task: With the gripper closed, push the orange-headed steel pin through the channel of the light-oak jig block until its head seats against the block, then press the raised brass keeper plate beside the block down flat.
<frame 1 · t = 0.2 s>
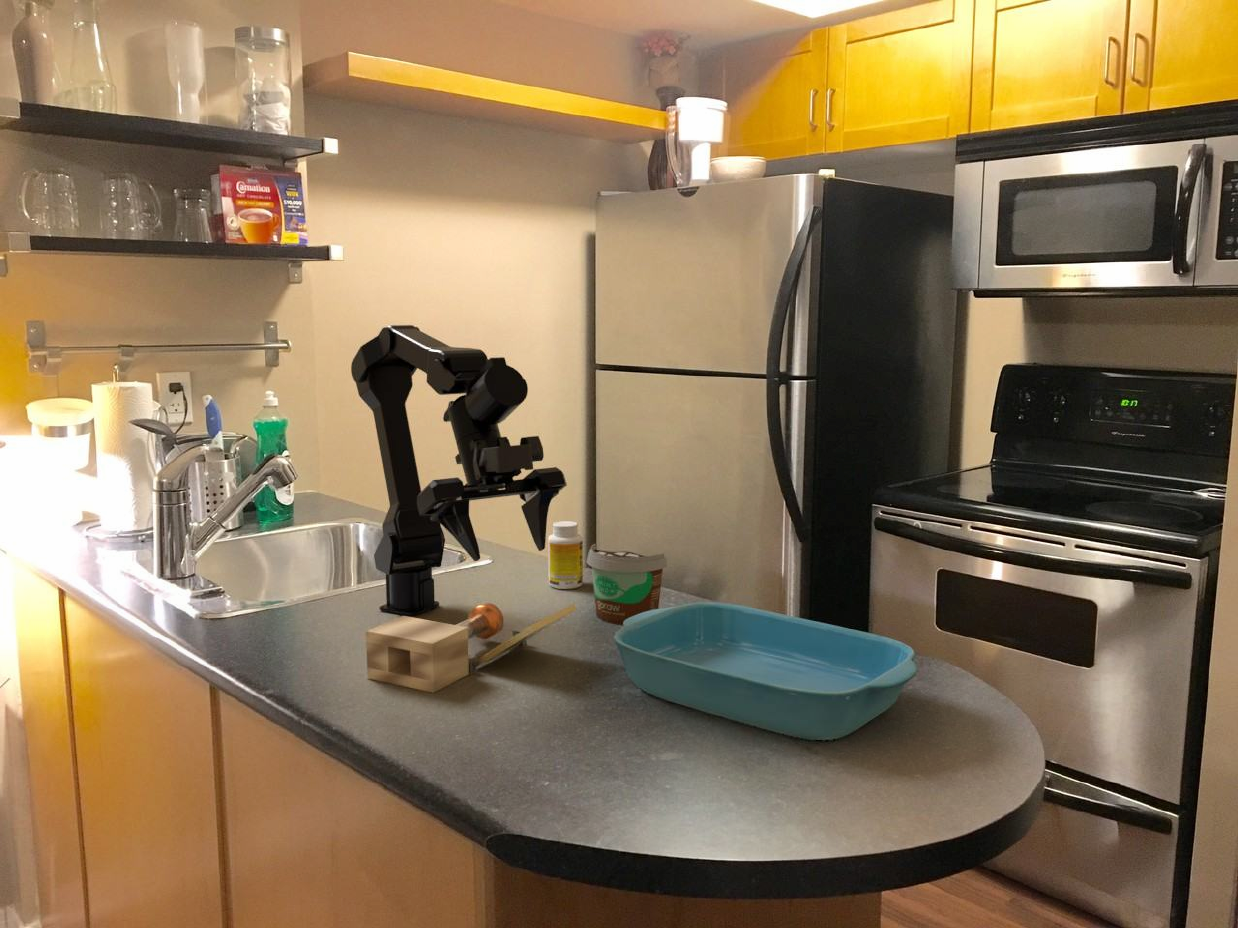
hand: (510, 554, 131), 14 cm above the worktop, tool tilted 30°, fingers open, 9 cm apart
keeper bracket: (495, 657, 136), on the worktop
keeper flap: (524, 635, 133), point 4 cm above the worktop, hinge at 35.0°
hitch pin: (461, 632, 137), point 3 cm above the worktop, slide at 0.0 cm
supplement bottle: (565, 586, 170), on the worktop
jig block: (418, 676, 129), on the worktop
food container: (618, 621, 152), on the worktop
casserole dish: (758, 698, 124), on the worktop
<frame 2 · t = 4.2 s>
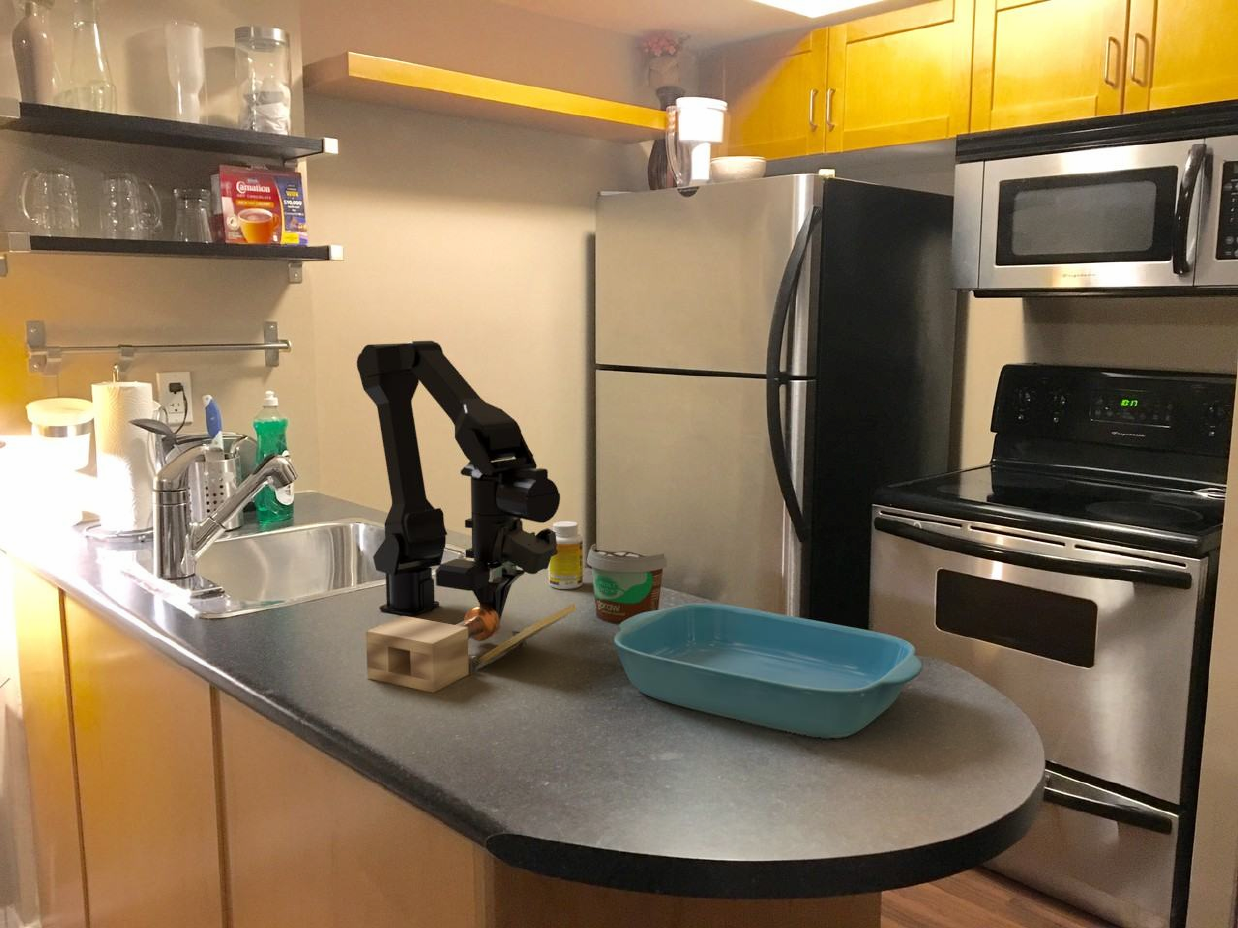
hand: (494, 623, 143), 2 cm above the worktop, tool pointing down, fingers closed
hitch pin: (457, 634, 136), point 3 cm above the worktop, slide at 0.9 cm, touching gripper
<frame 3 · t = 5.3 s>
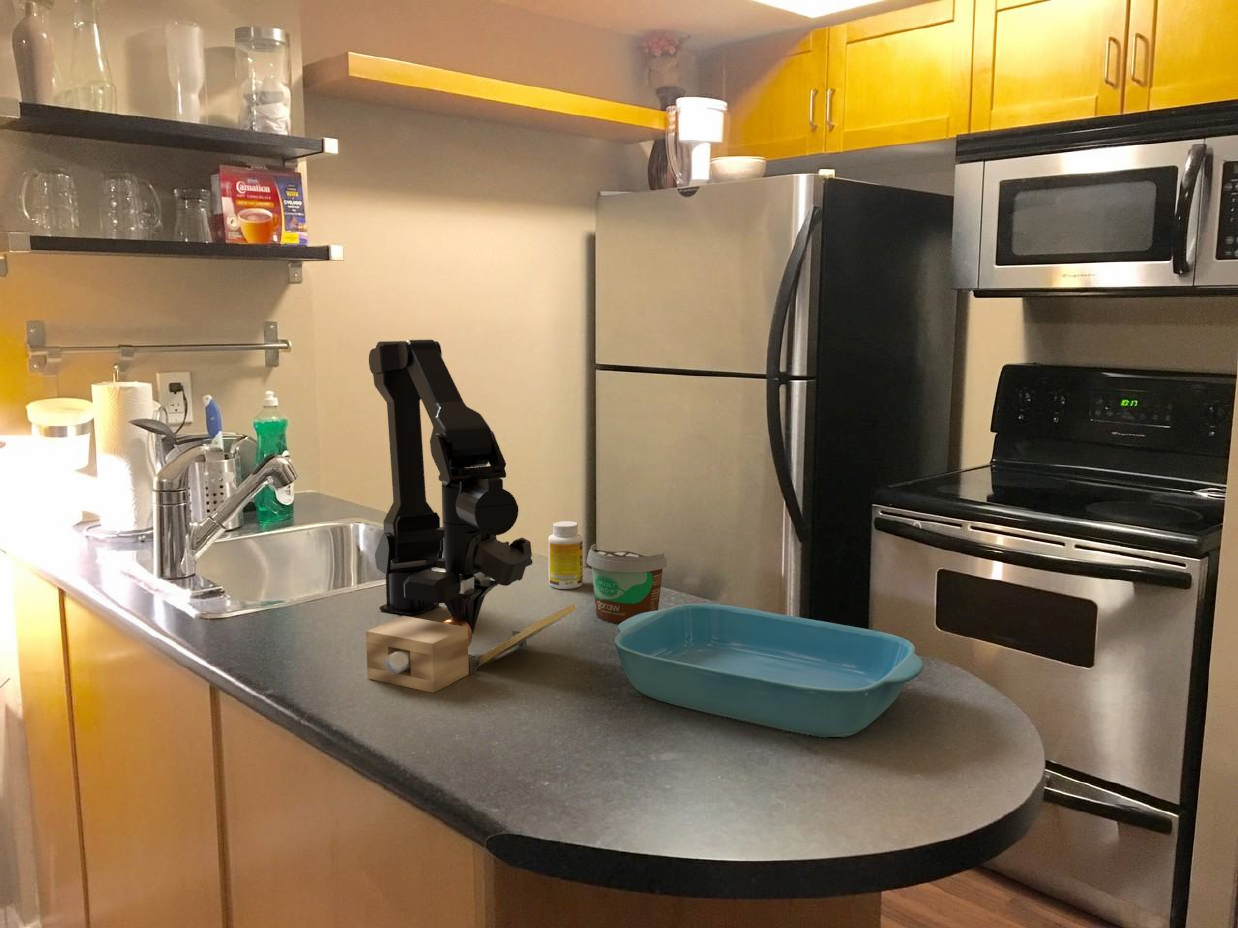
hand: (467, 636, 138), 2 cm above the worktop, tool pointing down, fingers closed
hitch pin: (426, 648, 130), point 3 cm above the worktop, slide at 7.2 cm, touching gripper
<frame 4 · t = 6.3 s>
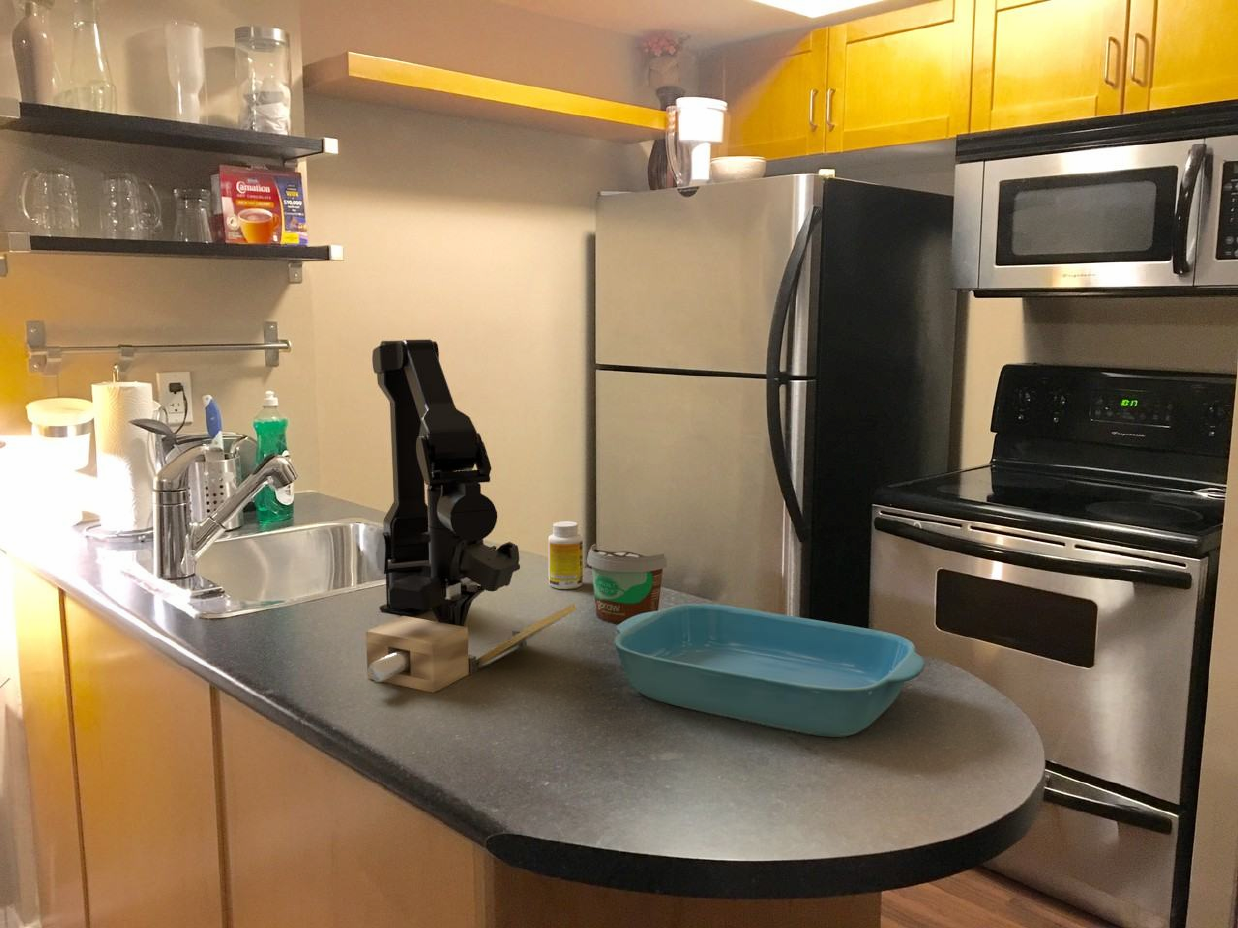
hand: (454, 642, 135), 2 cm above the worktop, tool pointing down, fingers closed
hitch pin: (412, 655, 128), point 3 cm above the worktop, slide at 10.0 cm, touching gripper, jig block
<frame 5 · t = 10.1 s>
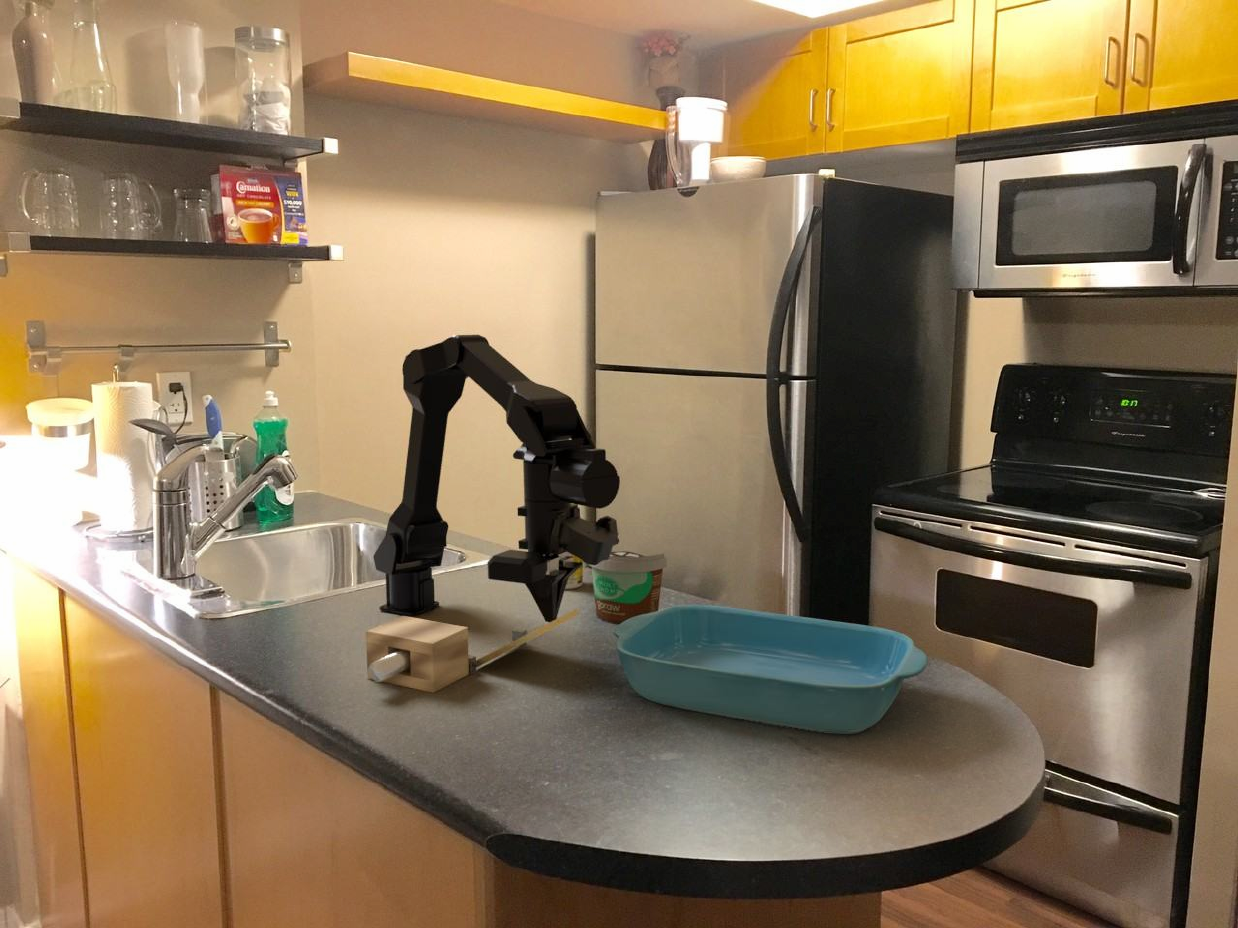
hand: (550, 621, 131), 6 cm above the worktop, tool pointing down, fingers closed, pressing on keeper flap
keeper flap: (526, 638, 133), point 3 cm above the worktop, hinge at 31.3°, touching gripper
hitch pin: (412, 655, 128), point 3 cm above the worktop, slide at 10.0 cm, touching jig block
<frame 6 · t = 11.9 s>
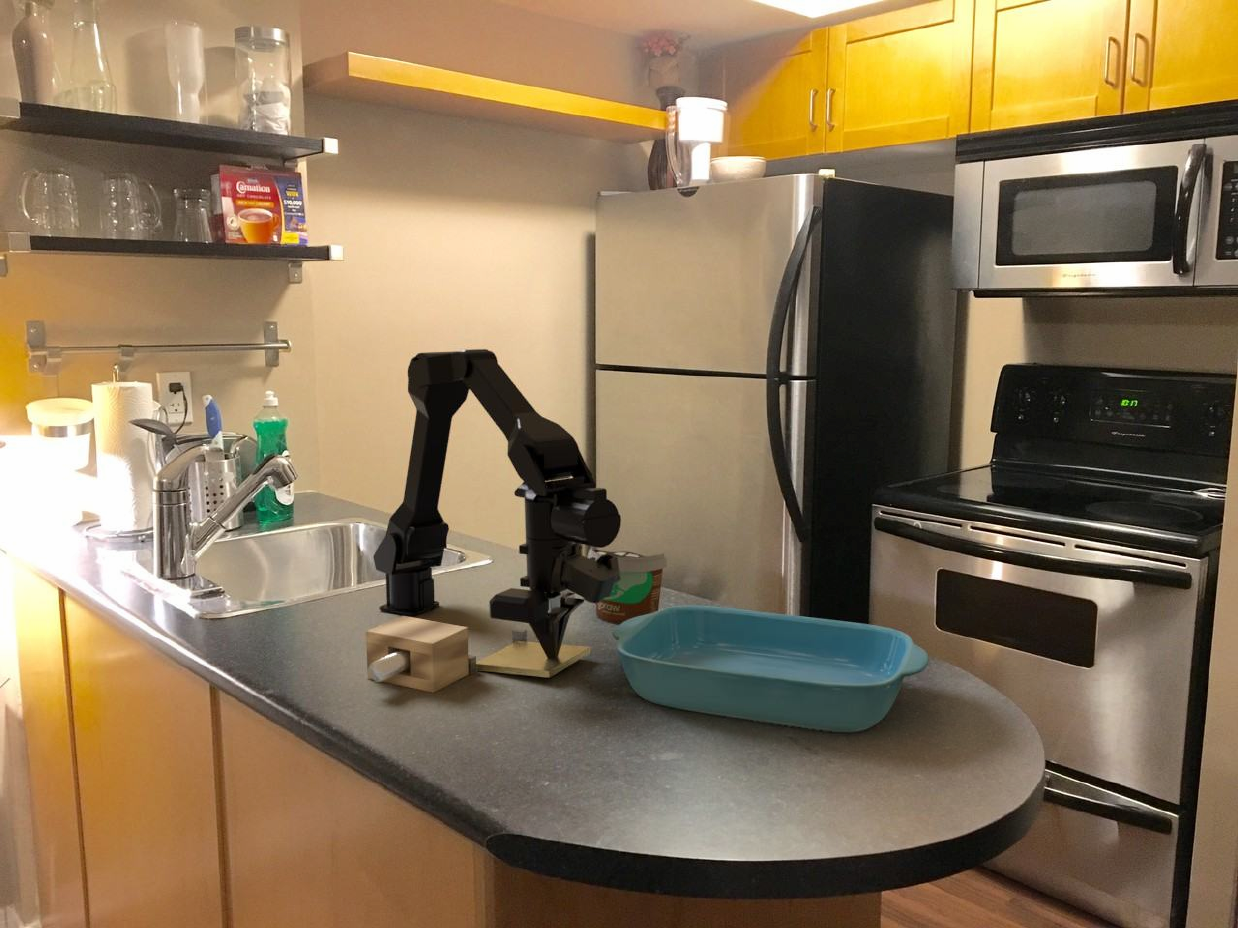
hand: (552, 658, 132), 1 cm above the worktop, tool pointing down, fingers closed, pressing on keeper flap
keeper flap: (532, 658, 133), point 1 cm above the worktop, hinge at 4.9°, touching gripper
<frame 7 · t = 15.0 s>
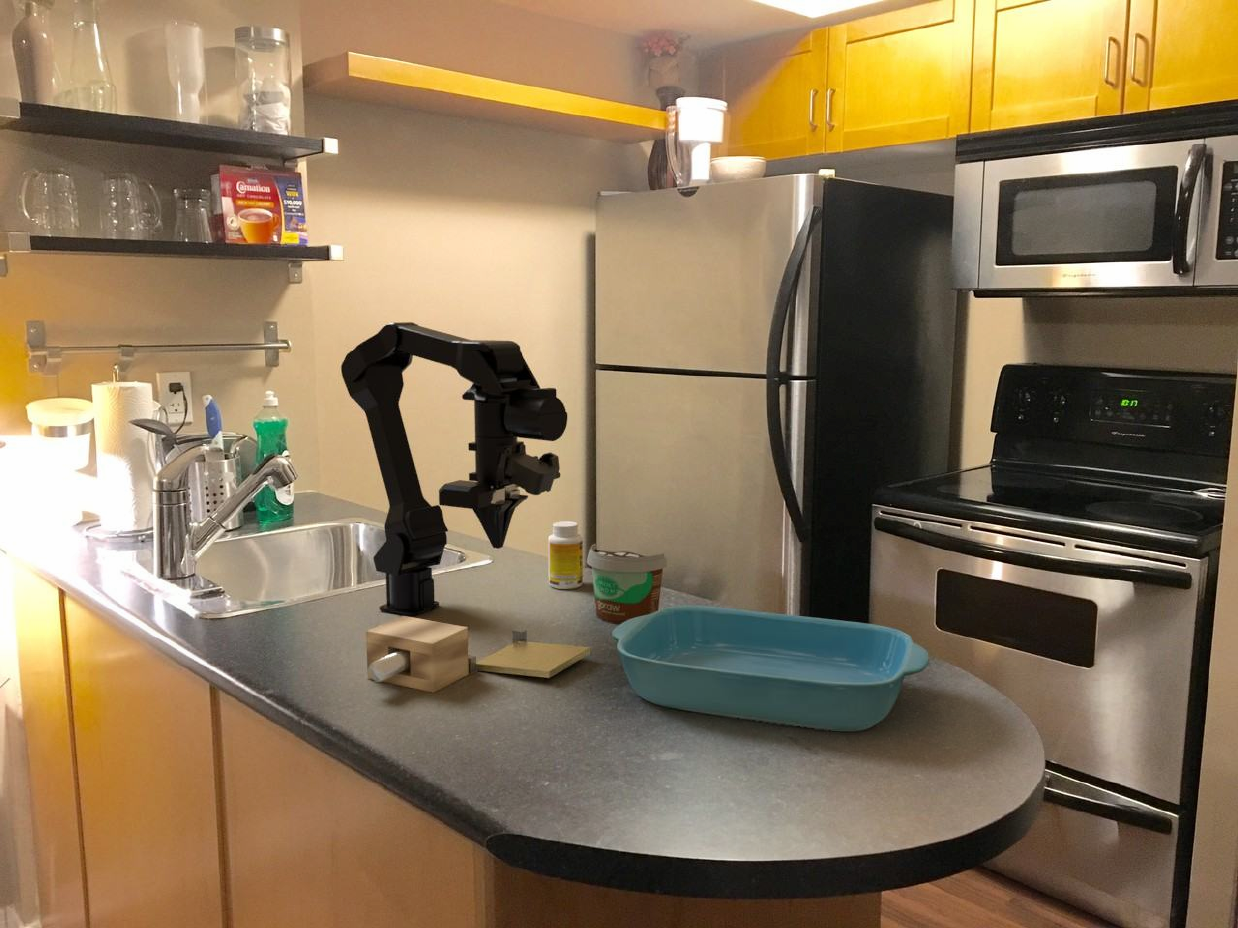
hand: (497, 547, 144), 12 cm above the worktop, tool pointing down, fingers closed
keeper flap: (532, 658, 133), point 1 cm above the worktop, hinge at 4.7°
at the end: hitch pin slide at 10.0 cm; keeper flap at +5° (first picture: +35°) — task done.
